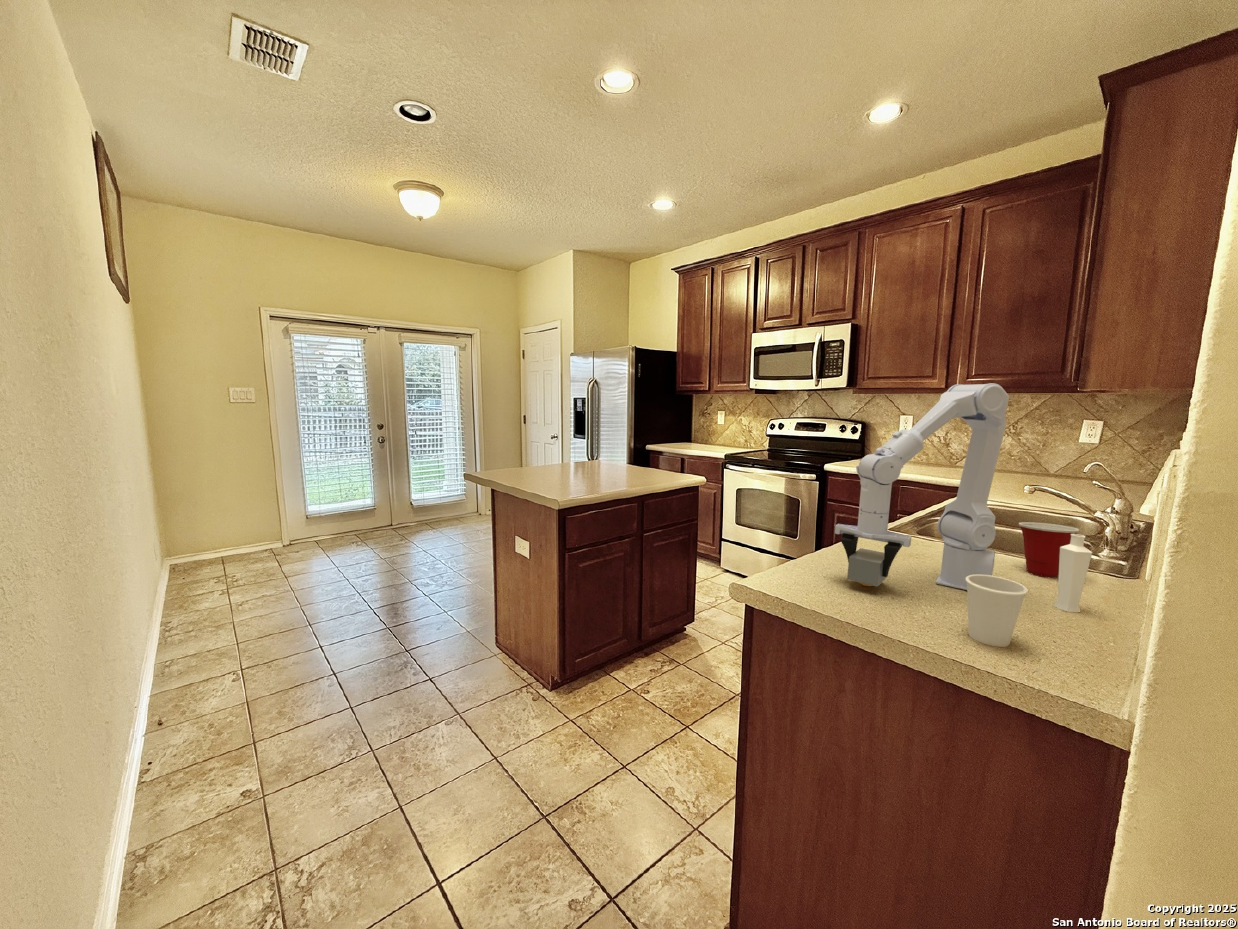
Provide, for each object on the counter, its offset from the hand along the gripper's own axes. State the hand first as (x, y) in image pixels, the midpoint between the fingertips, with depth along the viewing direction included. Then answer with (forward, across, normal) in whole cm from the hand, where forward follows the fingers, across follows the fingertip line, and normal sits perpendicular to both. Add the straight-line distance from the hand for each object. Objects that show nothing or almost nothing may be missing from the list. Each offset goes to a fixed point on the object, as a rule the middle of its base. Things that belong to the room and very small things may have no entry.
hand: (868, 571), depth 106 cm
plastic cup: (+3, +29, +38) cm, 48 cm away
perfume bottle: (+3, +33, +15) cm, 36 cm away
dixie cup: (+4, +22, -11) cm, 25 cm away
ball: (+1, 0, 0) cm, 1 cm away
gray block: (+1, 0, 0) cm, 1 cm away
